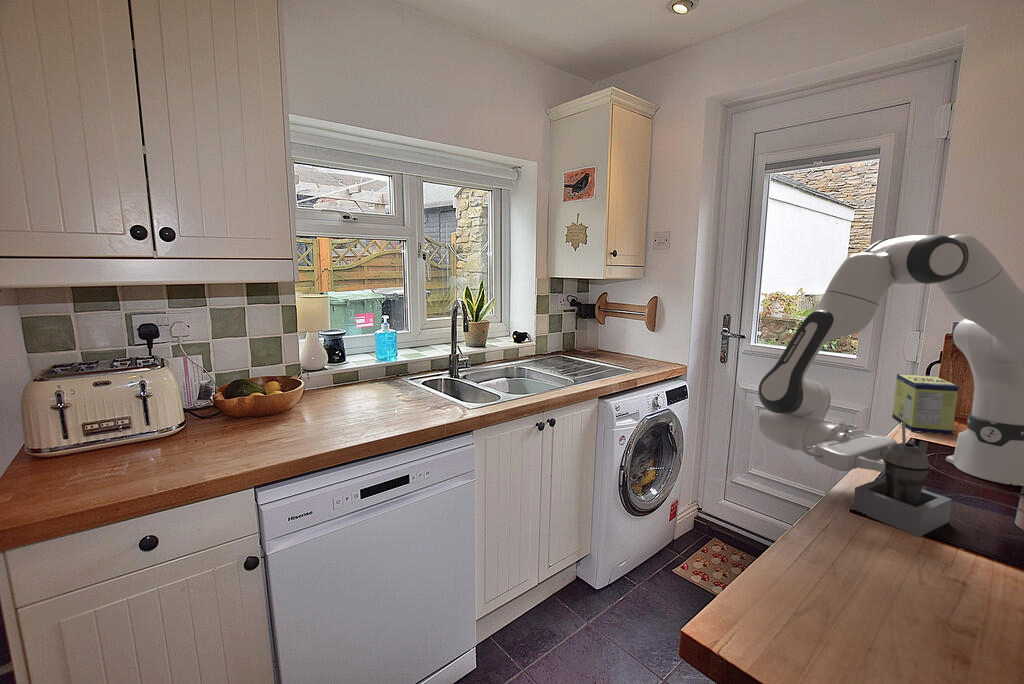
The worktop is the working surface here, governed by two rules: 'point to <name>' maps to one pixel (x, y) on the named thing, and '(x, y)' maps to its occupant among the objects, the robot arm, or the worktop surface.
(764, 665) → the worktop surface
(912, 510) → the holder block
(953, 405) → the protein box
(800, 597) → the worktop surface
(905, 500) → the beverage cup
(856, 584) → the worktop surface
